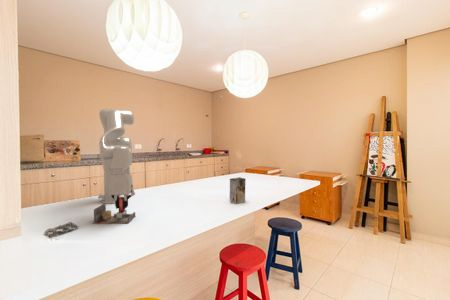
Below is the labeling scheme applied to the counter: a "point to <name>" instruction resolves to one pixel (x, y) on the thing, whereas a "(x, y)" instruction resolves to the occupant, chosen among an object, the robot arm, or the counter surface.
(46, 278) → the counter surface
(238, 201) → the coffee box
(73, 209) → the counter surface
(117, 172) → the robot arm
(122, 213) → the handle
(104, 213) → the tan wooden knob
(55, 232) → the egg carton
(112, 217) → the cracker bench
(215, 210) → the counter surface
